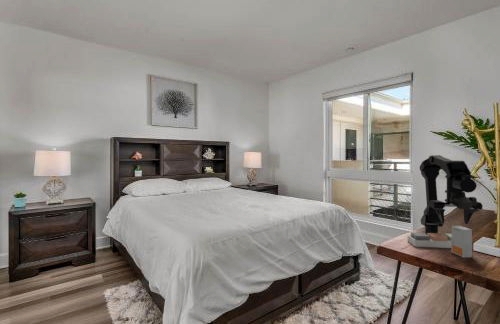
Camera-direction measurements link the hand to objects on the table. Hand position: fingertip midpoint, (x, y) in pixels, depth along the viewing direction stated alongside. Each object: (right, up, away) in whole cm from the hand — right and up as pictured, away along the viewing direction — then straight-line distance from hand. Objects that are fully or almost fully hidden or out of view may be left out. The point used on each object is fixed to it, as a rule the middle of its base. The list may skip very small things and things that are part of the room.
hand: (454, 223), depth 115 cm
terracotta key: (0, -10, +10) cm, 15 cm away
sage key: (+7, -10, +9) cm, 15 cm away
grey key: (-8, -11, +11) cm, 17 cm away
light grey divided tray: (0, -13, +10) cm, 16 cm away
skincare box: (+1, -13, -3) cm, 13 cm away
